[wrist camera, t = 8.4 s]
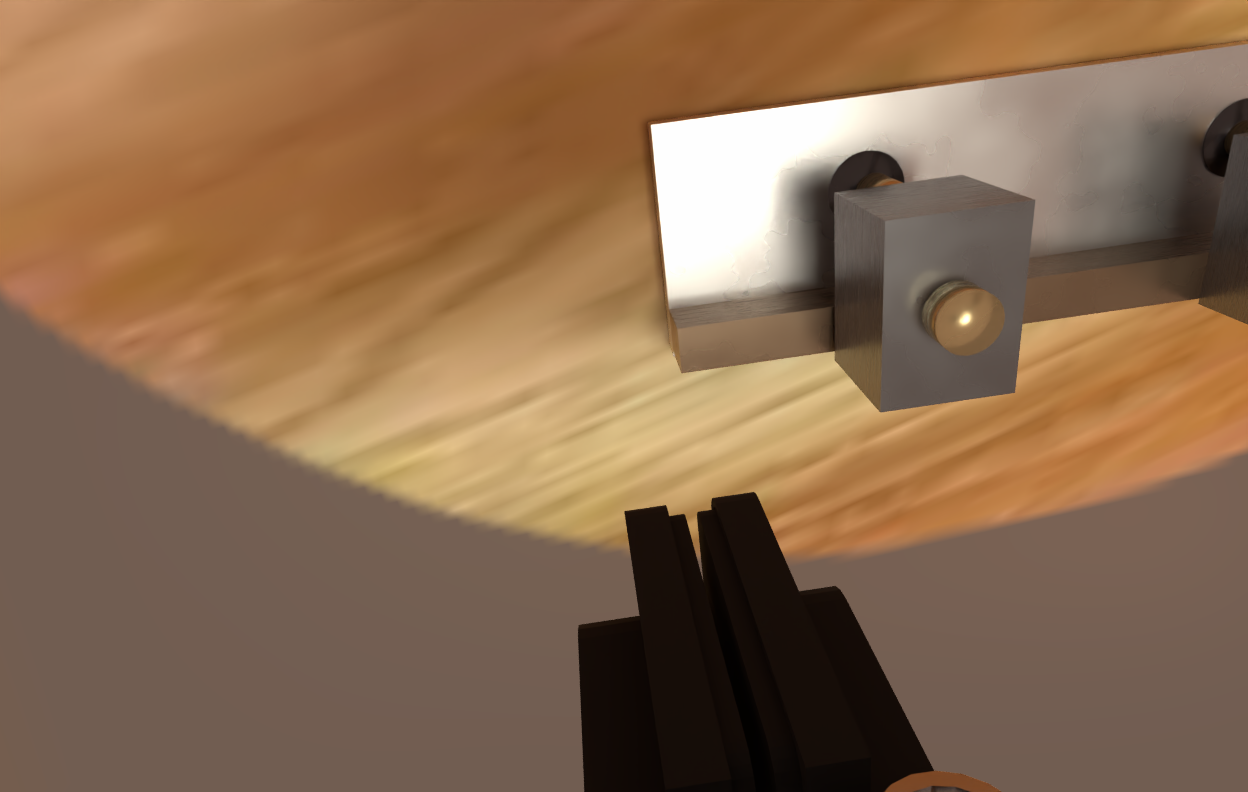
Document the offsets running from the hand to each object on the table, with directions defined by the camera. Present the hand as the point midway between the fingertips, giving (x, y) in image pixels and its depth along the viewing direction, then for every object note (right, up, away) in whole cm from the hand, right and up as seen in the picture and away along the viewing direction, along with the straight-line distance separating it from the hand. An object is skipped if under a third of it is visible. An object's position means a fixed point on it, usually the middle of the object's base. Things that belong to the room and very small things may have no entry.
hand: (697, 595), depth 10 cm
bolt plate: (+12, +10, +18) cm, 23 cm away
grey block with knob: (+8, +7, +17) cm, 20 cm away
